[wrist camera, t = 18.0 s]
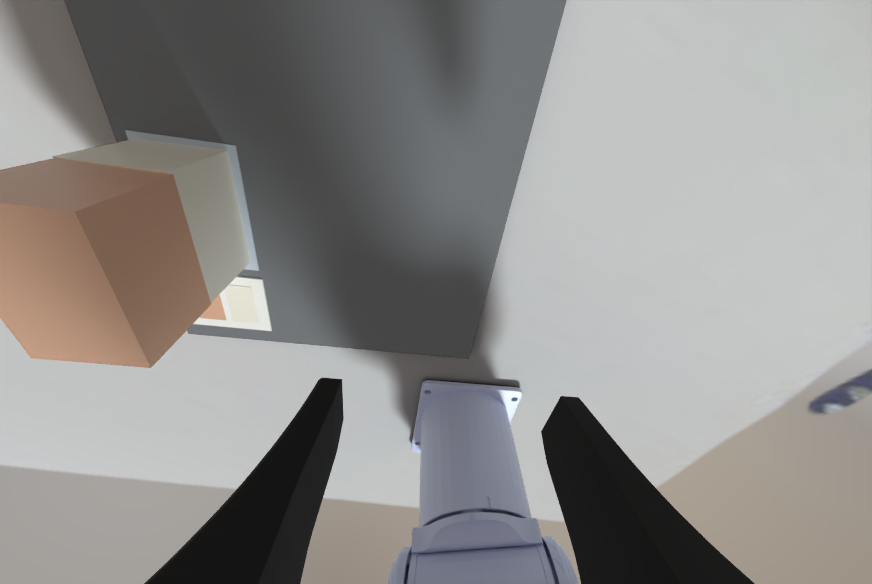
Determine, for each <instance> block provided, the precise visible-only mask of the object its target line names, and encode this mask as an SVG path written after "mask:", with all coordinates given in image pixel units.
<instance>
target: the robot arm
mask: <svg viewBox="0 0 872 584" xmlns="http://www.w3.org/2000/svg"><path fill="white" fill-rule="evenodd" d="M427 390H428V391H427ZM521 397H522V390H521V389H520V388H517V387H506V386H493V385H481V384H469V383H457V382H445V381H432V380H426V381H424V382H423V383H422V386H421V392H420V398H419V404H418V410H417V416H416V421H415V427H414V433H413V439H412V445H411V450H412V451H413V452H416V453H421V465H420V508H419V527H417V528H413V529H412V547H404V548H403V549H402V550H401V551H400V553H399V555H398V557H397V558H396V560H395V561H394V563H393V565H392V567H391V570H390V574H389V578H388V584H578V581H577V578H576V575H575V572H574V569H573V566H572V564H571V562H570V559H569V557H568V555H567V553H566V552H565V550H564V549H563V548H562V547H561V546H560V545H559V544H557V542H556V541H555V539H553V538H552V537H551V536H546V537H541V533H540V529H539V524H538V520H537V519H536V518H532V517H531V513H530V509H529V504H528V500H527V496H526V491H525V487H524V483H523V478H522V474H521V470H520V465H519V461H518V457H517V452H516V448H515V444H514V439H513V435H512V431H511V426H510V422H511V420H512V417H513V415H514V413H515V411H516V408H517V406H518V404H519V401H520V399H521ZM342 423H343V396H342V379H331V378H321V379H319V380H318V382H317V384H316V385H315V387H314V389H313V390H312V392H311V393H310V395H309V397H308V398H307V400H306V401H305V403H304V404H303V406H302V407H301V409H300V410H299V411H298V413H297V414H296V416H295V417H294V419H293V420H292V421H291V423H290V424H289V425H288V427H287V428H286V429H285V431H284V432H283V433H282V435H281V436H280V437H279V439H278V440H277V441H276V443H275V444H274V445H273V447H272V448H271V449H270V450H269V452H268V453H267V454H266V455H265V456H264V458H263V459H262V460H261V461H260V463H259V464H258V465H257V466H256V467H255V469H254V470H253V471H252V472H251V474H250V475H249V476H248V477H247V478H246V479H245V481H244V482H243V483H242V484H241V485H240V486H239V488H238V489H237V490H236V491H235V492H234V493H233V494H232V495H231V497H230V498H229V499H228V500H227V501H226V502H225V503H224V504H223V505H222V506H221V507H220V509H219V510H218V511H217V512H216V513H215V514H214V515H213V516H212V517H211V518H210V519H209V520H208V521H207V522H206V523H205V525H203V527H201V529H200V530H199V531H198V532H197V533H196V534H195V535H194V536H193V537H192V538H191V539H190V540H189V541H188V542H187V543H186V544H185V545H184V546H183V547H182V548H181V549H180V550H179V551H178V552H177V553H176V554H175V555H174V556H173V557H172V558H171V559H170V560H169V561H168V562H167V563H166V564H165V565H164V566H163V567H162V568H161V569H159V570H158V571H157V572H156V573H155V574H154V575H153V576H152V577H151V578H150V579H149V580H148V581H147V582H146V583H145V584H300V582H301V577H302V573H303V568H304V564H305V559H306V554H307V550H308V546H309V543H310V539H311V535H312V531H313V528H314V525H315V522H316V518H317V515H318V512H319V508H320V505H321V502H322V499H323V495H324V492H325V489H326V485H327V482H328V479H329V476H330V472H331V469H332V466H333V462H334V459H335V456H336V452H337V448H338V443H339V438H340V433H341V428H342ZM541 432H542V438H543V444H544V450H545V455H546V460H547V464H548V468H549V471H550V475H551V478H552V481H553V484H554V488H555V491H556V494H557V497H558V500H559V504H560V507H561V510H562V513H563V516H564V520H565V523H566V526H567V529H568V532H569V536H570V539H571V542H572V546H573V550H574V553H575V557H576V562H577V566H578V571H579V575H580V580H581V584H754V583H753V582H752V581H751V580H750V579H749V578H748V577H746V576H745V575H744V574H743V573H742V572H741V571H740V570H739V569H737V568H736V567H735V566H734V565H733V564H732V563H731V562H730V561H729V560H728V559H726V558H725V557H724V556H723V555H722V554H721V553H720V552H719V551H718V550H717V549H715V547H713V546H712V545H711V544H710V543H709V542H708V541H707V540H706V539H705V538H704V537H703V536H702V535H701V534H700V533H699V532H698V531H697V530H696V529H695V528H694V527H693V526H692V525H691V524H690V523H689V522H688V521H687V520H686V519H685V518H684V517H683V516H682V515H681V514H680V513H679V512H678V511H677V510H676V509H674V507H673V506H672V505H671V504H670V503H669V502H668V501H667V500H666V499H665V498H664V497H663V496H662V495H661V493H660V492H659V491H658V490H657V489H656V488H655V487H654V486H653V485H652V484H651V483H650V482H649V480H648V479H647V478H646V477H645V476H644V475H643V474H642V473H641V471H640V470H639V469H638V468H637V467H636V466H635V465H634V463H633V462H632V461H631V460H630V459H629V458H628V457H627V455H626V454H625V453H624V452H623V451H622V449H621V448H620V447H619V446H618V445H617V444H616V442H615V441H614V440H613V439H612V438H611V436H610V435H609V434H608V433H607V431H606V430H605V429H604V428H603V427H602V425H601V424H600V423H599V422H598V420H597V419H596V418H595V417H594V416H593V414H592V413H591V412H590V411H589V409H588V408H587V407H586V406H585V405H584V403H583V402H582V401H581V400H580V399H579V398H578V397H565V396H561V397H560V399H559V401H558V403H557V404H556V406H555V408H554V410H553V412H552V413H551V415H550V417H549V419H548V421H547V422H546V424H545V426H544V428H543V429H542V431H541Z"/></svg>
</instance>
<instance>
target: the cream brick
mask: <svg viewBox="0 0 872 584" xmlns="http://www.w3.org/2000/svg"><path fill="white" fill-rule="evenodd" d="M53 158H57V159H64V160H71V161H79V162H86V163H94V164H101V165H109V166H116V167H124V168H131V169H139V170H146V171H153V172H161V173H168V174H173V176H174V179H175V182H176V186H177V189H178V193H179V196H180V199H181V203H182V206H183V210H184V213H185V216H186V220H187V223H188V226H189V230H190V233H191V237H192V240H193V243H194V247H195V250H196V253H197V257H198V260H199V264H200V267H201V270H202V274H203V277H204V281H205V284H206V287H207V291H208V294H209V297H210V301H211V303H212V302H213V301H214V300H215V299H216V297H217V296H218V295H219V294H220V293H221V292H222V291H223V290H224V289H225V288H226V287H227V286H228V285H229V284H230V283H231V282H232V281H233V280H234V279H235V278H236V277H237V276H238V275H239V274H240V273H241V272H242V270H243V269H244V268H245V267H246V266H247V265H248V264H249V263H250V257H249V252H248V247H247V243H246V238H245V233H244V228H243V223H242V218H241V213H240V208H239V204H238V199H237V194H236V189H235V184H234V179H233V174H232V170H231V165H230V160H229V155H228V151H226V150H219V149H212V148H204V147H197V146H189V145H182V144H174V143H167V142H160V141H152V140H145V139H137V138H136V139H132V140H127V141H122V142H118V143H113V144H108V145H103V146H99V147H94V148H89V149H85V150H80V151H75V152H71V153H66V154H61V155H57V156H53Z"/></svg>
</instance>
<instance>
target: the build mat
mask: <svg viewBox="0 0 872 584" xmlns="http://www.w3.org/2000/svg"><path fill="white" fill-rule="evenodd" d="M64 1H65V3H66V6H67V9H68V11H69V14H70V17H71V19H72V22H73V25H74V28H75V30H76V33H77V36H78V38H79V41H80V44H81V46H82V49H83V52H84V54H85V57H86V60H87V62H88V65H89V68H90V70H91V73H92V76H93V79H94V81H95V84H96V87H97V89H98V92H99V95H100V97H101V100H102V103H103V105H104V108H105V111H106V113H107V116H108V119H109V122H110V124H111V127H112V130H113V132H114V135H115V138H116V140H117V143H118V142H122V141H127V140H132V139H136V138H137V139H145V140H152V141H160V142H167V143H174V144H182V145H189V146H197V147H204V148H212V149H219V150H226V151H228V155H229V160H230V165H231V170H232V174H233V179H234V184H235V189H236V194H237V199H238V204H239V208H240V213H241V218H242V223H243V228H244V233H245V238H246V243H247V247H248V252H249V257H250V263H249V264H248V265H247V266H246V267H245V268H244V269H243V270H242V272H241V273H240V274H239V275H238V276H237V277H236V278H235V279H234V280H233V281H232V282H231V283H230V284H229V285H228V286H227V287H226V288H225V289H224V290H223V291H222V292H221V293H220V294H219V295H218V296H217V297H216V299H215V300H214V301H213V302H212V303H211V305H210V306H209V307H208V309H207V310H206V311H205V312H204V313H203V314H202V315H201V316H200V317H199V318H198V319H197V320H196V321H195V322H194V323H193V324H192V325H191V326H190V327H189V328H188V329H187V331H188V334H197V335H208V336H220V337H231V338H242V339H253V340H265V341H276V342H287V343H298V344H310V345H321V346H332V347H343V348H354V349H366V350H377V351H388V352H399V353H411V354H422V355H433V356H444V357H455V358H467V359H469V357H470V353H471V349H472V345H473V342H474V338H475V334H476V331H477V327H478V323H479V320H480V316H481V312H482V309H483V305H484V301H485V298H486V294H487V290H488V287H489V283H490V279H491V276H492V272H493V268H494V265H495V261H496V257H497V254H498V250H499V246H500V243H501V239H502V235H503V232H504V228H505V224H506V221H507V217H508V213H509V209H510V206H511V202H512V198H513V195H514V191H515V187H516V184H517V180H518V176H519V173H520V169H521V165H522V162H523V158H524V154H525V151H526V147H527V143H528V140H529V136H530V132H531V129H532V125H533V121H534V118H535V114H536V110H537V107H538V103H539V99H540V96H541V92H542V88H543V85H544V81H545V77H546V73H547V70H548V66H549V62H550V59H551V55H552V51H553V48H554V44H555V40H556V37H557V33H558V29H559V26H560V22H561V18H562V15H563V11H564V7H565V4H566V0H64Z"/></svg>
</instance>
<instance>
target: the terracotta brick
mask: <svg viewBox="0 0 872 584" xmlns="http://www.w3.org/2000/svg"><path fill="white" fill-rule="evenodd" d="M210 305H211V301H210V297H209V294H208V291H207V287H206V284H205V281H204V277H203V274H202V270H201V267H200V264H199V260H198V257H197V253H196V250H195V247H194V243H193V240H192V237H191V233H190V230H189V226H188V223H187V220H186V216H185V213H184V210H183V206H182V203H181V199H180V196H179V193H178V189H177V186H176V182H175V179H174V176H173V174H168V173H161V172H153V171H146V170H139V169H131V168H124V167H116V166H109V165H101V164H94V163H86V162H79V161H71V160H64V159H57V158H53V159H49V160H44V161H39V162H35V163H30V164H26V165H21V166H17V167H12V168H8V169H3V170H0V318H1V319H2V321H3V322H4V323H5V324H6V326H7V327H8V328H9V330H10V331H11V332H12V334H13V335H14V336H15V338H16V339H17V340H18V342H19V343H20V344H21V345H22V347H23V348H24V349H25V351H26V352H27V353H28V355H29V356H30V357H31V358H36V359H49V360H61V361H73V362H85V363H98V364H110V365H122V366H134V367H146V368H151V367H152V366H153V365H154V364H155V363H156V362H157V361H158V360H159V359H160V358H161V357H162V356H163V355H164V354H165V352H166V351H167V350H168V349H169V348H170V347H171V346H172V345H173V344H174V343H175V342H176V341H177V340H178V339H179V338H180V337H181V336H182V335H183V334H184V333H185V332H186V330H187V329H188V328H189V327H190V326H191V325H192V324H193V323H194V322H195V321H196V320H197V319H198V318H199V317H200V316H201V315H202V314H203V313H204V312H205V311H206V310H207V309H208V307H209V306H210Z"/></svg>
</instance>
